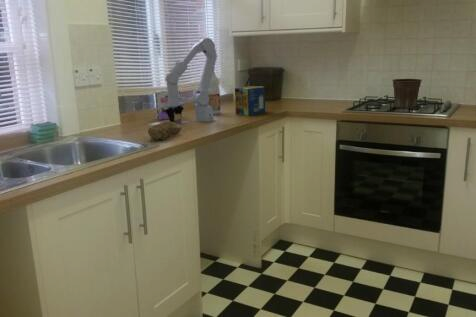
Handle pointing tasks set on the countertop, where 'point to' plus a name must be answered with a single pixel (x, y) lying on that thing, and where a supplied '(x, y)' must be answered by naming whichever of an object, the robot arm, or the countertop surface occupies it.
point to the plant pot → (406, 92)
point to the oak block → (177, 118)
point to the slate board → (177, 123)
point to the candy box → (162, 104)
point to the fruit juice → (214, 94)
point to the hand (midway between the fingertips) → (175, 121)
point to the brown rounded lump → (164, 130)
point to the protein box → (250, 100)
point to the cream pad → (154, 123)
